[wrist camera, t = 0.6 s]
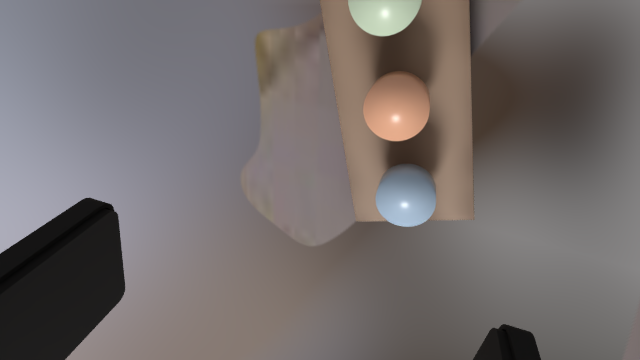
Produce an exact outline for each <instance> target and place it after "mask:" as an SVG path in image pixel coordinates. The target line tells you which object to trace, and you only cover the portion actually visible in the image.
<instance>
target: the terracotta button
mask: <svg viewBox="0 0 640 360" xmlns="http://www.w3.org/2000/svg"><path fill="white" fill-rule="evenodd" d="M429 112H430V94H429V91H428V89H427V87H426V85H425V84H424V82H423V81H422V80H421V79H420V78H419V77H417V76H416V75H414V74H412V73H409V72H404V71H395V72H390V73H387V74H385V75H383V76H382V77H380V78H379V79H378V80H377V81H376V82H375V83H374V84H373V86H372V87H371V89H370V91H369V92H368V94H367V96H366V98H365V101H364V105H363V114H364V118H365V121H366V123H367V125H368V127H369V128H370V129H371V130H372V132H374V133H375V134H376V135H377V136H379V137H381V138H383V139H386V140H389V141H403V140H407V139H409V138H412V137H413V136H415V135H417V134H418V133H419V132H420V131H421V130H422V129H423V128H424V126H425V124H426V123H427V120H428V117H429Z"/></svg>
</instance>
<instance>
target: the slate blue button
mask: <svg viewBox="0 0 640 360" xmlns="http://www.w3.org/2000/svg"><path fill="white" fill-rule="evenodd" d="M376 206H377V209H378V211H379V212H380V214H381V215H382V216H383V217H384V218H385V219H386V220H387V221H389V222H391V223H393V224H395V225H398V226H404V227H411V226H416V225H419V224H421V223H423V222H425V221H426V220H428V219H429V218H430V217H431V215H432V214H433V212H434V210H435V206H436V184H435V181H434V179H433V177H432V176H431V175H430V173H429V172H428V171H426V170H425V169H424V168H422V167H420V166H417V165H414V164H399V165H396V166H393V167H391V168H390V169H388V170H387V171H386V172H385V173H384V174H383V176H382V178H381V180H380V183H379V186H378V190H377V193H376Z"/></svg>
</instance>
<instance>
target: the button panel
mask: <svg viewBox="0 0 640 360" xmlns="http://www.w3.org/2000/svg"><path fill="white" fill-rule="evenodd" d="M320 4H321V10H322V16H323V23H324V29H325V35H326V41H327V47H328V53H329V59H330V65H331V71H332V77H333V83H334V89H335V95H336V101H337V108H338V114H339V120H340V126H341V132H342V138H343V144H344V150H345V156H346V162H347V168H348V174H349V180H350V187H351V193H352V199H353V205H354V211H355V217H356V221H387V220H386V219H385V218H384V217H383V216H382V215H381V214H380V212H379V211H378V209H377V206H376V193H377V190H378V186H379V183H380V180H381V178H382V176H383V174H384V173H385V172H386V171H387V170H388V169H390V168H391V167H393V166H396V165H399V164H414V165H417V166H420V167H422V168H424V169H425V170H426V171H428V172H429V173H430V175H431V176H432V177H433V179H434V181H435V184H436V206H435V210H434V212H433V214H432V215H431V217H430V218H429V219H428V220H474V184H473V141H472V99H471V54H470V11H469V0H422V3H421V6H420V9H419V11H418V13H417V15H416V16H415V18H414V19H413V21H412V22H411V23H410V24H409V25H408V26H407V27H406V28H405V29H403V30H402V31H400V32H398V33H396V34H393V35H389V36H376V35H372V34H369V33H367V32H366V31H364V30H363V29H361V28H360V27H359V26H358V25H357V23H356V22H355V21H354V19H353V17H352V15H351V13H350V10H349V5H348V0H320ZM395 71H404V72H409V73H412V74H414V75H416V76H417V77H419V78H420V79H421V80H422V81H423V82H424V84H425V85H426V87H427V89H428V91H429V94H430V112H429V117H428V120H427V123H426V124H425V126H424V128H423V129H422V130H421V131H420V132H419V133H418V134H417V135H415V136H413V137H412V138H409V139H407V140H403V141H389V140H386V139H383V138H381V137H379V136H377V135H376V134H375V133H374V132H372V130H371V129H370V128H369V127H368V125H367V123H366V121H365V118H364V114H363V105H364V101H365V98H366V96H367V94H368V92H369V91H370V89H371V87H372V86H373V84H374V83H375V82H376V81H377V80H378V79H379V78H380V77H382V76H383V75H385V74H387V73H390V72H395Z"/></svg>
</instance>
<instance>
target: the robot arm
mask: <svg viewBox="0 0 640 360" xmlns="http://www.w3.org/2000/svg"><path fill="white" fill-rule="evenodd" d="M124 292H125V280H124V270H123V260H122V251H121V240H120V231H119V220H118V214H117V213H116V212H114V209H113V206H112V205H111V204H108V203H105V202H102V201H98V200H95V199H92V198H85V199H83V200H81V201H80V202H78V203H77V204H75V205H74V206H72V207H70V208H69V209H68V210H66V211H65V212H63V213H61V214H60V215H58V216H57V217H55V218H54V219H52V220H51V221H49V222H48V223H46V224H45V225H43V226H42V227H40V228H39V229H37V230H36V231H34V232H32V233H31V234H29V235H28V236H26V237H25V238H23V239H22V240H20V241H19V242H17V243H16V244H14V245H13V246H11V247H10V248H9V249H7V250H5V251H4V252H2V253H1V254H0V360H65V359H66V358H67V357H68V356H69V355H70V354H71V352H72V351H73V350H74V349H75V348H76V347H77V346H78V345H79V344H80V343H81V342H82V341H83V340H84V338H86V336H87V335H88V334H89V333H90V332H91V331H92V330H93V329H94V328H95V327H96V326H97V325H98V324H99V323H100V322H101V321H102V320H103V318H104V317H105V316H106V315H107V314H108V313H109V312H110V311H111V310H112V309H113V308H114V307H115V306H116V304H118V302H119V301H120V300H121V298H122V296H123V295H124ZM473 360H541V358H540V355H539V351H538V348H537V345H536V341H535V338H534V336H533V334H532V333H531V332H529V331H525V330H522V329H519V328H515V327H512V326H509V325H506V324H503V325H501V326H500V328H499V329H496V328H492V329H491V330H490V331H489V333H488V335H487V336H486V338H485V340H484V342H483V343H482V345H481V347H480V349H479V350H478V352H477V354H476V355H475V357H474V359H473Z"/></svg>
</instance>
